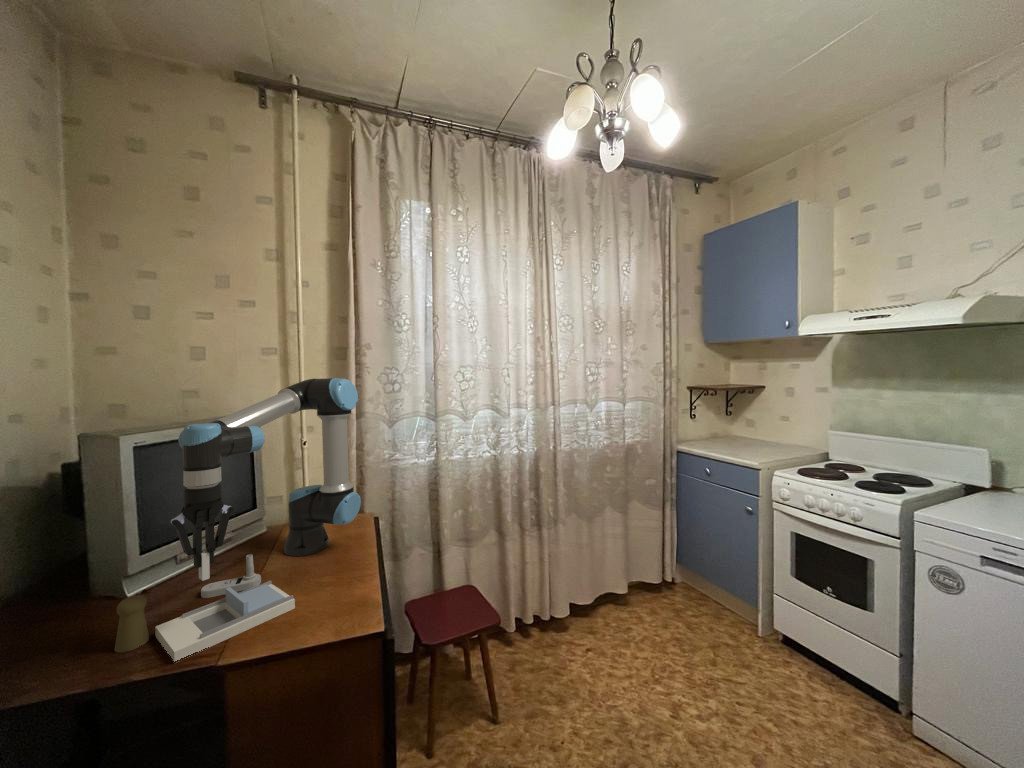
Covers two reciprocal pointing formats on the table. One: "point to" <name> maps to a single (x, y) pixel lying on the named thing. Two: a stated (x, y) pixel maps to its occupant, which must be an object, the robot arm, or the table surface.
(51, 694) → the table surface
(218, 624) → the socket plate
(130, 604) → the cork
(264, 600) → the panel
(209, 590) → the electronic device
